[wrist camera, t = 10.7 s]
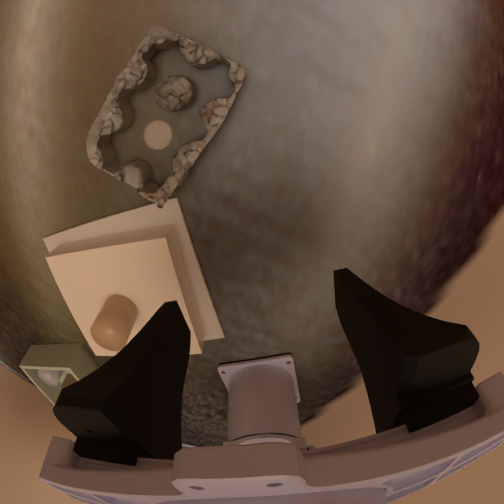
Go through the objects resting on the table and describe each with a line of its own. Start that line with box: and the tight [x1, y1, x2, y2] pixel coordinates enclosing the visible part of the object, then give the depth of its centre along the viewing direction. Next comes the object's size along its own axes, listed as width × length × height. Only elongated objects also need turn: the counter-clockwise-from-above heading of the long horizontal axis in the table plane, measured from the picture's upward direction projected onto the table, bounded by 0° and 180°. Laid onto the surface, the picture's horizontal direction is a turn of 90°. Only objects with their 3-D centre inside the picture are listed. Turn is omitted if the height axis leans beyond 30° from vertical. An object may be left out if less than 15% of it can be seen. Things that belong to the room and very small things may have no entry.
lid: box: [45, 224, 205, 356], centre depth 22 cm, size 11×11×6 cm
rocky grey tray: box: [86, 26, 247, 208], centre depth 17 cm, size 11×8×4 cm
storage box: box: [19, 343, 99, 406], centre depth 29 cm, size 10×10×4 cm
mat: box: [43, 196, 225, 340], centre depth 25 cm, size 14×14×1 cm
